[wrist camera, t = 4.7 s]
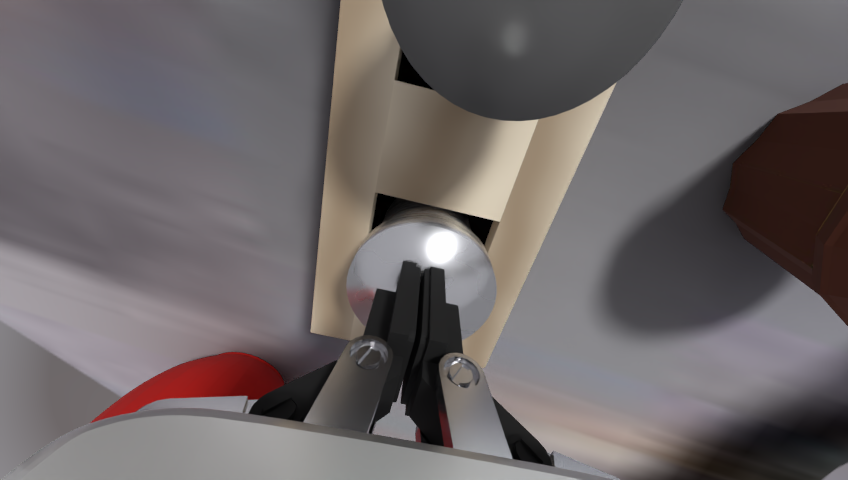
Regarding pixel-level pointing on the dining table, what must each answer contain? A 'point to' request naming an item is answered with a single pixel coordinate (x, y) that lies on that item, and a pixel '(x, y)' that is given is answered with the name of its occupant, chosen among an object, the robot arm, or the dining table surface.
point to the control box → (433, 170)
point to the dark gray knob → (525, 49)
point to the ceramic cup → (203, 382)
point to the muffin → (800, 195)
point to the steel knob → (425, 260)
